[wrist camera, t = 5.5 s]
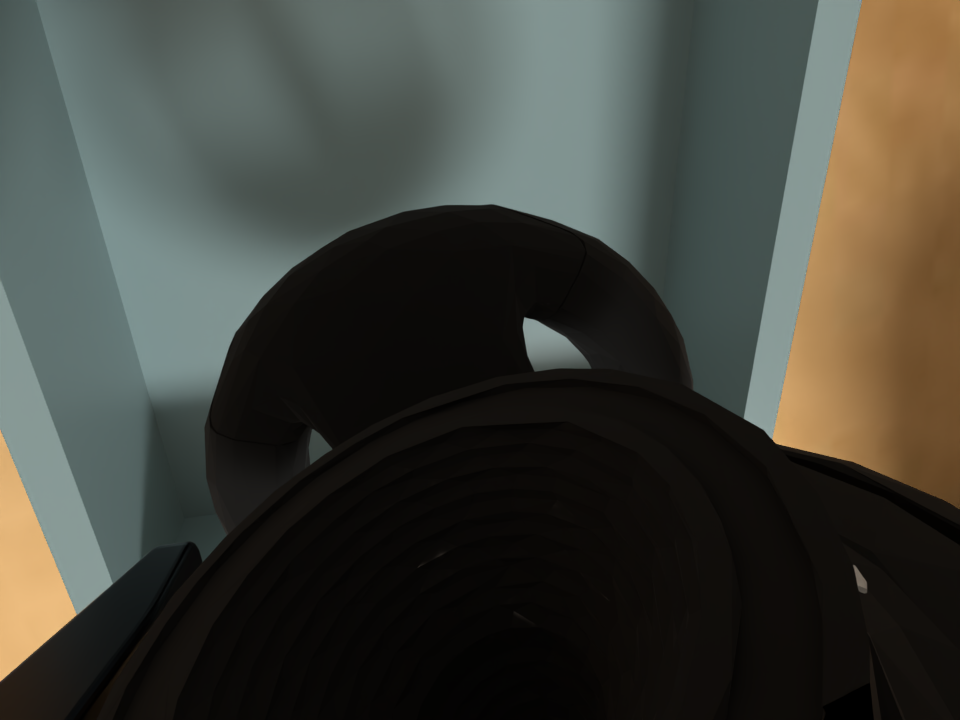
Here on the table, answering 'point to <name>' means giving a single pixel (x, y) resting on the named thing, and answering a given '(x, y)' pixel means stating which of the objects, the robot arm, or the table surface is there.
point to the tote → (368, 200)
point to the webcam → (528, 513)
